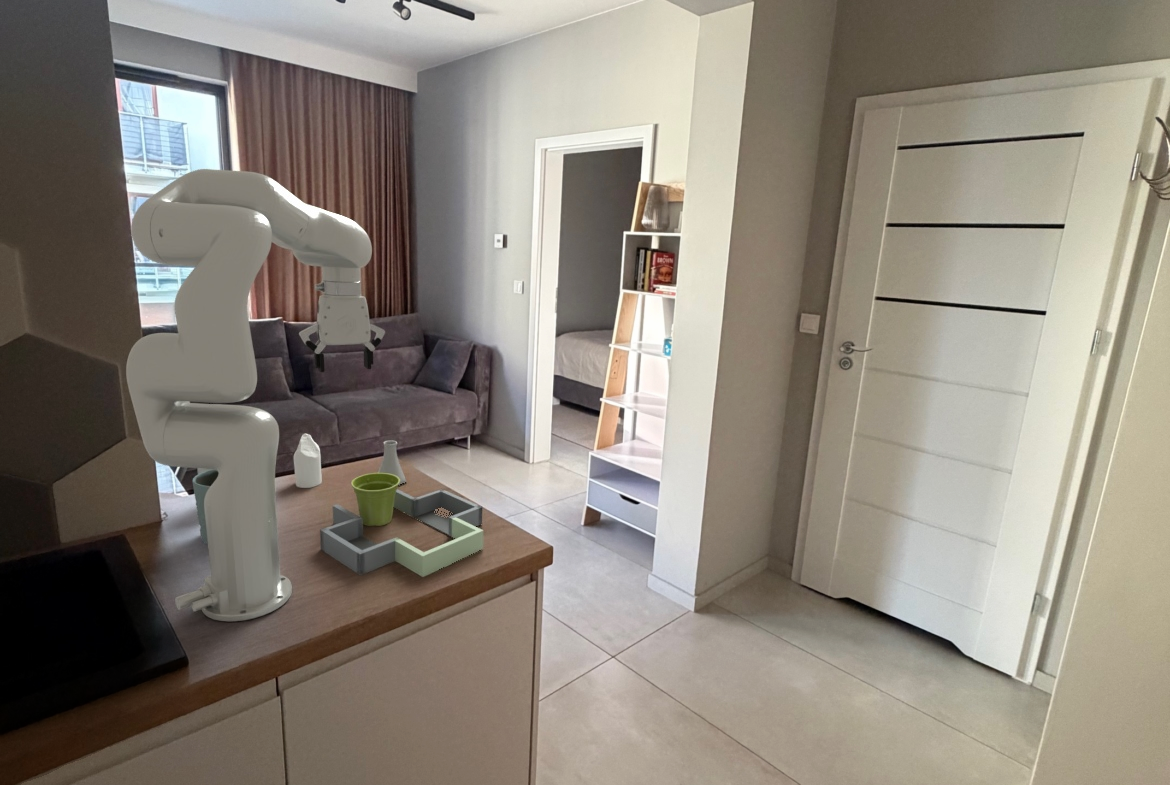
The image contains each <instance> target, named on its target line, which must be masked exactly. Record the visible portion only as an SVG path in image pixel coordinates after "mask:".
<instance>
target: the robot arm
mask: <svg viewBox="0 0 1170 785" xmlns="http://www.w3.org/2000/svg"><path fill="white" fill-rule="evenodd" d="M130 226H131V227H130V230H131V232H130V233H131V238H132V241H133V244H134V245H135V247H136V250H137V251H139V253H140V254H141V255H142V256H144V257H145V258H146V259H148V260H150V261H152V262H154V263H157V264H161V265H167V266H179V267H180V266H181V267H182V266H183V267H194V268H193V269H192V270H191V271H190V273H189V274H188V275H187V277H186V278H185V279H184V280H183V281H182V283H181V285H180V287H179V289H178V290H177V293H176V295H175V299H174V306H173V308H174V309H173V310H174V315H175V321H176V328H177V333H175V332H157V333H151V334H147V335H146V336H142V337H141V338H139V339H138V340H137V341H136V342H135V343H134V344H133V346H132V347H131V349H130V351H129V354H128V357H127V361H126V367H125V368H126V370H125V371H126V372H125V373H126V374H125V375H126V382H127V387H128V392H129V395H130V399H131V402H132V407H133V410H134V411H133V412H134V413H135V416H136V421H137V425H138V428H139V433H140V436H141V438H142V442H143V446H144V448H145V450H146V452H147V454H148V455H149V457H150V458H151V459H152V460H153V461H154V462H155V463H158V464H160V465H163V466H168V467H175V468H177V467H178V468H188V469H189V468H191V469H192V468H194V469H197V468H206V469H214V470H217V471H218V473H219V475H218V477H217V479H216V480H215V481H214V483H213V484H212V485H211V486H210V488H209V489H208V491H207V493H206V495H205V499H204V511H205V518H206V529H207V540H208V545H207V549H208V560H209V571H210V573H209V574H210V576H208V577H204V578H203V582H204V583H203V584H204V585H202V586H199V587H198V588H197V590H195V591H192V592H187V593H185V594H182V595H179V596H177V597H175V600H174V602H175V606H176V608H177V610H178V611H181V610H183V609H186V608H188V607H191V608H192V611H193V612H197V611H200V610H201V611H202V613H203V614H204V615H205V616H206V617H208V618H210V619H212V620H214V621H218V622H219V621H220V622H238V621H239V622H241V621H248V620H252V619H256V618H259V617H262V616H265V615H268V614H269V613H272V612H273V611H275V610H277V609H279V608H281V607H282V606H283V605H284V604H285V603H286V602H287V601H288V600H289V599H290V598H291V596H292V593H293V586H292V582H291V580H290V579H289V578H288V577H286V576H285V575H282V574H281V565H280V564H281V562H280V548H279V531H278V529H279V527H278V515H277V514H278V513H277V502H276V501H277V499H276V462H277V455H278V448H279V443H280V442H279V441H280V429H279V424H278V422H277V420H276V419H275V417H274V416H273V415H272V414H270V412H268V411H267V410H264V409H261V408H258V407H254V406H248V405H247V406H246V405H238V404H229V403H236V402H242V401H244V400H247V399H248V398H250V397H251V396H252V395H253V394H254V393H255V391H256V389H257V388H256V387H257V383H258V372H257V370H258V369H257V363H256V358H255V351H254V347H253V346H254V345H253V340H252V332H251V327H250V322H249V313H248V301H249V300H248V299H249V296H250V292H251V289H252V286H253V283H254V281H255V279H256V278H257V276H258V274H259V272H260V270H261V268H262V267H263V265H264V263H265V261H266V260H267V257H268V256H269V254H270V251H271V248H272V243H273V244H275V245H276V246H277V247H280V248H283V249H287V250H291V252H292V254H293V256H294V257H295V259H296V260H297V261H299V263H302V264H303V265H306V266H312V267H321V282H320V283H315V284H314V290H315V291H318V292H321V293H322V295H319V297H318V298H319V299H318V304H317V314H316V323H314V324H312V325H311V326H308V327H306V328H305V329H303V330H301V331H299V333H298V335H299V337H300V338H301V340H302V342H303V344H304V345H305V346H306V347H308V348H309V349H310V350H311V351H312V352H313V354H314V358H313V359H314V366H315V368H316V369H317V371H319V372H320V373H325V355H324V353H323V350H325V349H326V346H342V345H343V346H345V345H363V346H364V349H363V366H364V368H366V369H367V370H372V366H373V365H374V351H375V350H376V348H377V347H378V346H379V345H380V344H381V343H382V340H383V337H384V336H385V334H386V331H385V329H383V328H381V327H379V326H377V325H375V324H373V323H371V322H370V314H369V313H370V312H369V307H368V303H367V302H368V301H367V299H366V296H362V275H361V274H362V273H361V272H362V270H361V269H362V268H365V267H366V266H367V265H368V264H369V263H370V261H371V258H372V253H373V247H372V242H371V239H370V237H369V235H368V233H367V232H366V231H365V230H364V228H362V227H361V226H360V225H359V224H358V223H357V222H356V221H354V220H352V219H350V218H348V217H346V216H344V215H340V214H338V213H335V212H331V211H328V210H325V209H323V208H320V207H318V206H314V205H311V204H309V203H305V202H303V201H302V200H301V199H300V198H299V197H297V196H295V195H294V194H293V193H292V192H290V191H289V190H288V189H287V188H285V187H284V186H283V185H282V184H280V183H279V182H277V181H276V180H275V179H273V178H271V177H270V176H268V175H266V174H262V173H258V172H255V171H245V170H228V169H212V168H211V169H210V168H199V169H196V170H192V171H189V172H187V173H186V174H185V173H184V174H183V175H182V176H179V177H178V178H176V179H174V180H172V181H171V182H170V183H169V184H167V185H166V186H164V187H163V188H162V189H161V190H158V191H157V192H156V193H155V194H153V195H152V196H150V197H148V198H147V199H146V200H145V201H144V202H143V203H141V204H140V205H139V207H138V208H137V210H136V211H135V212H134V215H133V217H132V221H131V224H130ZM371 331H373V332H374V333H376V334H375V337H374V338H373V339H372V338H371ZM315 333H316V336H317V339H318V340H317V341H316V343H315V344H314V342H313V341H311V339H310V335H312V334H315ZM209 403H210V404H209ZM212 403H213V404H212ZM227 403H228V404H227Z"/></svg>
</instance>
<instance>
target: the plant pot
mask: <svg viewBox="0 0 1170 785" xmlns="http://www.w3.org/2000/svg"><path fill="white" fill-rule="evenodd" d="M350 483H351V487H352V488H353V492H354V493H355V495H356V501H357V507H358V512H359V517H361V518H362V521H363V526H367V527H371V526H377V527H381V526H384V525H388V524H389V523H390V522H391V521H392V519H393V514H394V513H393V512H394V508H393V507H394V500H395V493H396V490H397V489H398V487H399V486H400V485H399V483H400V479H399V477H397V476H396V475H393V474H388V473H378V472H372V473H366V474H362V475H360V476H357V477H355V478H353V479H352V480H351V482H350ZM398 485H399V486H398Z"/></svg>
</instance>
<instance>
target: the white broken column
mask: <svg viewBox="0 0 1170 785" xmlns="http://www.w3.org/2000/svg"><path fill="white" fill-rule="evenodd" d="M321 460H322V458H321V449H320V446H319V444H317V442H315V441H314V439H313V438H312V435H311V434H309V433H303V434H302V435H301V437H300V440H299V443H298V445H297V448H296V451H294V454H293V468H294V477H295V486H296V487H297V488H300V489H309V488H315V487H318V486H319V485H321V484H322V482H323V481H322V463H321V462H322V461H321Z"/></svg>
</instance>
